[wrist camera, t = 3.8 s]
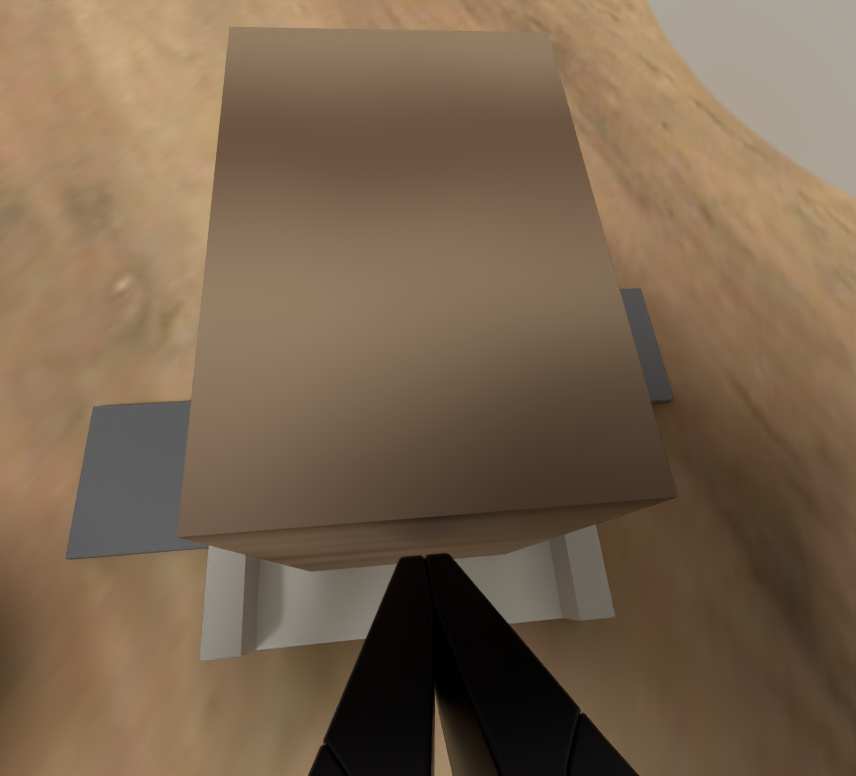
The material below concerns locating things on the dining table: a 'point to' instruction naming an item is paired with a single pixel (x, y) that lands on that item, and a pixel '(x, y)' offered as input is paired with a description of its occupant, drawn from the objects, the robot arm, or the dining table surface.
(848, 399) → the dining table surface
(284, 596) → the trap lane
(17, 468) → the dining table surface
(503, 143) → the walnut block
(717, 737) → the dining table surface
